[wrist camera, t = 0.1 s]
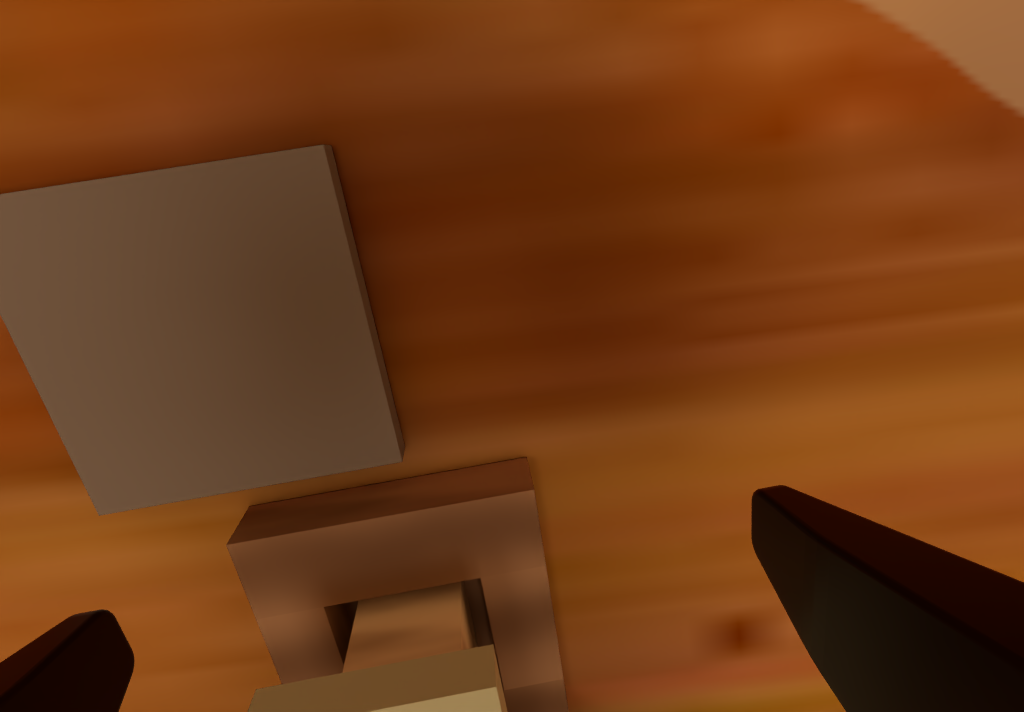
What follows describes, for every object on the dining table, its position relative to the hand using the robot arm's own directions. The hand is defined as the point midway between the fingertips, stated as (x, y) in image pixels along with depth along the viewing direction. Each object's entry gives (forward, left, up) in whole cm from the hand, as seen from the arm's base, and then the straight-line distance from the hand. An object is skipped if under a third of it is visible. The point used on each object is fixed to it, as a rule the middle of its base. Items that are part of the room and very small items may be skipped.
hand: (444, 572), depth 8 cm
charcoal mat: (0, +9, -14) cm, 17 cm away
